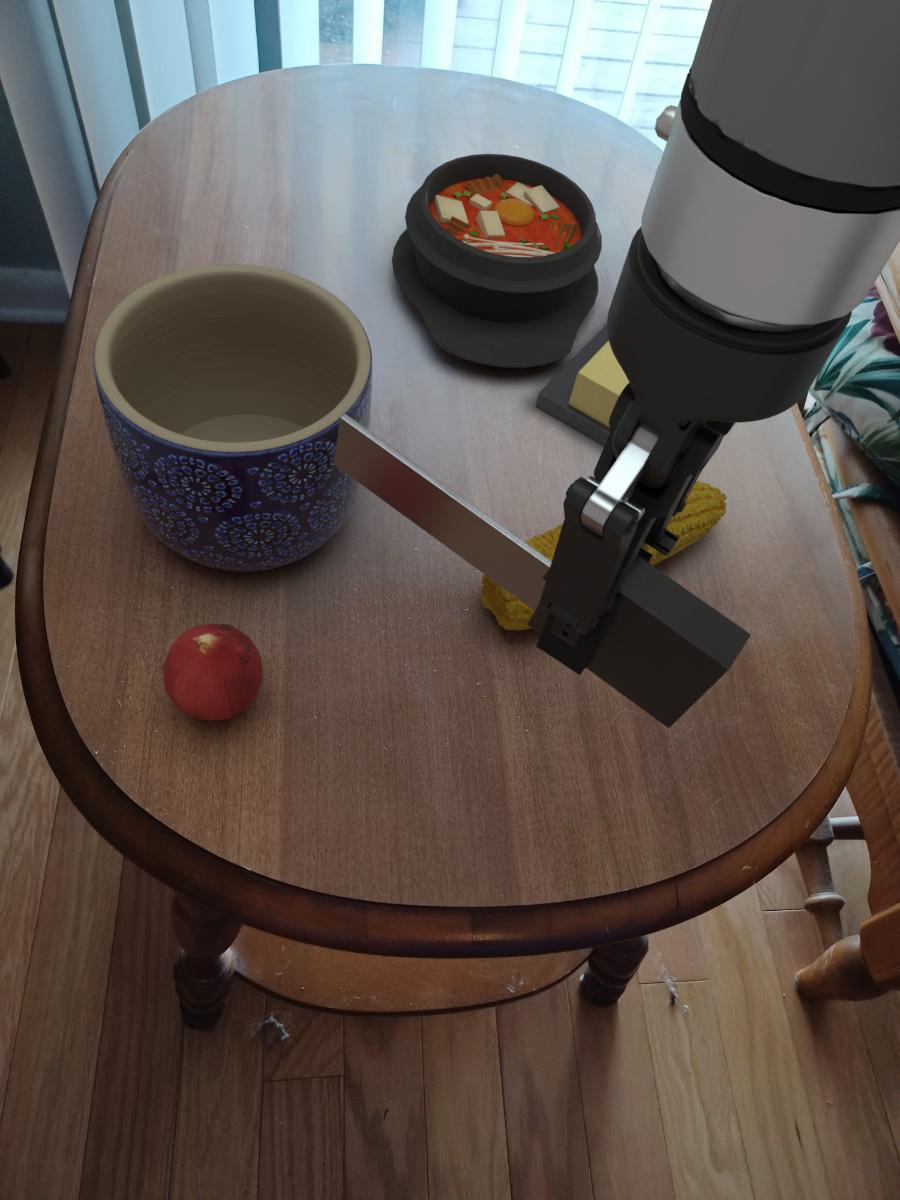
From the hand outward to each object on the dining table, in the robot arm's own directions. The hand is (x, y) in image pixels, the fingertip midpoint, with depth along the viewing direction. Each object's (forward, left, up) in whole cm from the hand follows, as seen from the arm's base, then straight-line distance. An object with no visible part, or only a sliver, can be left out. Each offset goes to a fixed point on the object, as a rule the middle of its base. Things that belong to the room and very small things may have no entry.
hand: (577, 635), depth 50 cm
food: (+3, -15, -14) cm, 21 cm away
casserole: (+27, -36, -14) cm, 47 cm away
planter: (+26, -3, -14) cm, 30 cm away
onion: (+17, +10, -14) cm, 24 cm away
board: (+11, -33, -14) cm, 37 cm away
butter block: (+11, -29, -12) cm, 33 cm away
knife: (+5, 0, 0) cm, 5 cm away
